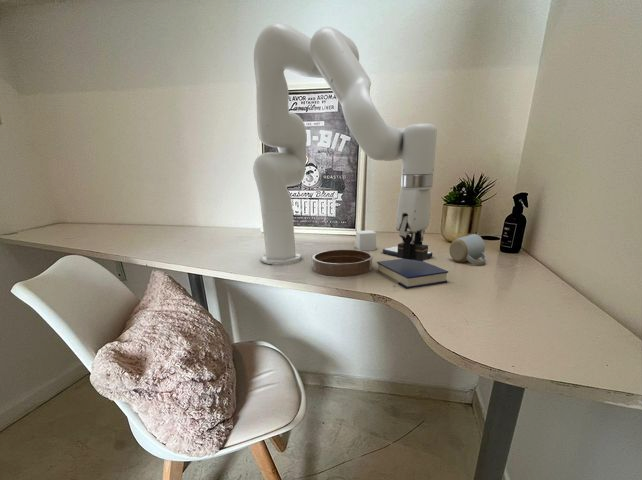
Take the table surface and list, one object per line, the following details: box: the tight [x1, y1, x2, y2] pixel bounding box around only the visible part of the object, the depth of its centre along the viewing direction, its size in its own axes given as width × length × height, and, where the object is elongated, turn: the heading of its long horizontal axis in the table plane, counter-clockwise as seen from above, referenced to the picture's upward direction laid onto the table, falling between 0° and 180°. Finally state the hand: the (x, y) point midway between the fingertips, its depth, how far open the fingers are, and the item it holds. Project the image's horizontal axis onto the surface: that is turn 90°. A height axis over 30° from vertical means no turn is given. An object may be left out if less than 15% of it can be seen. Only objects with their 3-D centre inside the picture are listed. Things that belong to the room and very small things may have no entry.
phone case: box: [382, 245, 433, 259], centre depth 112 cm, size 9×2×16 cm
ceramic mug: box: [448, 233, 487, 266], centre depth 101 cm, size 11×8×8 cm
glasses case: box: [396, 242, 429, 262], centre depth 87 cm, size 7×3×4 cm, turn 51°
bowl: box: [312, 248, 374, 277], centre depth 97 cm, size 17×17×4 cm
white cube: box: [355, 229, 377, 251], centre depth 121 cm, size 6×6×6 cm
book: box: [376, 258, 449, 289], centre depth 89 cm, size 16×12×3 cm
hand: (412, 256), depth 88 cm, fingers closed on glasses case, 3 cm apart
